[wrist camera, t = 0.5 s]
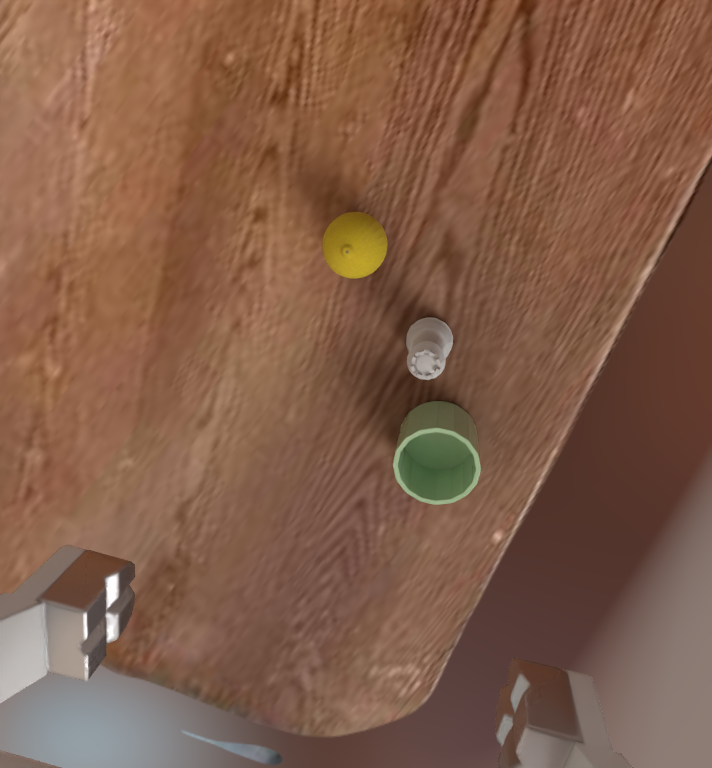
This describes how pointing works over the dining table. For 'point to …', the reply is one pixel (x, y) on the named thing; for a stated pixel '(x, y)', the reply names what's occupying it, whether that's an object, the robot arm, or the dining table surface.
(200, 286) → the dining table surface
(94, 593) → the robot arm
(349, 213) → the lemon
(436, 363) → the rook chess piece
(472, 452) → the cup
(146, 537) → the dining table surface
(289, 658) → the dining table surface
